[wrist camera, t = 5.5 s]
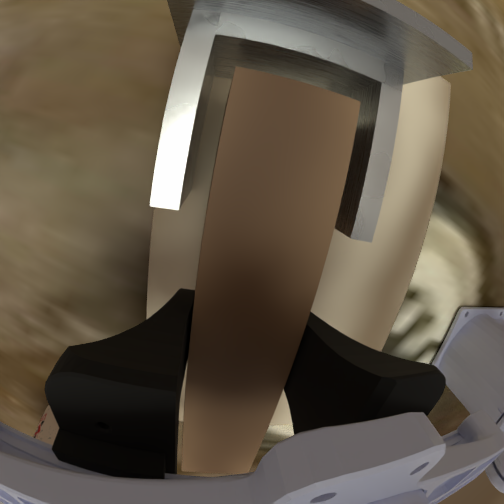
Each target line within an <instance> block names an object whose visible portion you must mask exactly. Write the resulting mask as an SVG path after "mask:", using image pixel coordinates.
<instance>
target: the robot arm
mask: <svg viewBox="0 0 504 504" xmlns="http://www.w3.org/2000/svg"><path fill="white" fill-rule="evenodd" d="M194 297H195V290H191V289H184V288H180V289H179V290H178V291H177V292H176V293H175V294H174V295H173V297H172V298H171V299H170V300H169V301H168V302H167V303H166V304H165V305H164V306H163V307H162V308H160V309H159V310H158V311H157V312H156V313H154V314H153V315H152V316H151V317H149V318H148V319H147V320H145V321H144V322H142V323H140V324H139V325H137V326H135V327H133V328H131V329H129V330H127V331H125V332H122V333H120V334H118V335H115V336H112V337H110V338H107V339H103V340H100V341H96V342H92V343H86V344H81V345H75V346H69V347H68V348H67V349H66V350H65V352H64V353H63V354H62V356H61V357H60V358H59V360H58V362H57V363H56V365H55V367H54V368H53V370H52V372H51V374H50V375H49V377H48V379H47V381H46V384H45V394H46V398H47V401H48V403H49V406H50V408H51V410H52V413H53V415H54V417H55V419H56V422H57V424H58V426H59V430H58V433H57V435H56V438H55V440H54V443H53V445H51V444H48V443H46V442H43V441H41V440H38V439H36V438H33V437H31V436H29V435H27V434H24V433H22V432H20V431H18V430H16V429H14V428H12V427H10V426H8V425H6V424H4V423H2V422H0V502H2V503H4V504H437V503H439V502H440V501H442V500H443V499H445V498H447V497H448V496H450V495H451V494H453V493H455V492H456V491H458V490H459V489H460V488H462V487H463V486H465V485H466V484H468V483H469V482H471V481H472V480H474V479H475V478H476V477H477V476H478V475H479V474H480V473H482V472H483V471H484V470H485V471H486V474H487V476H488V478H489V480H490V481H491V483H492V484H493V486H494V487H496V489H498V490H499V491H500V492H502V493H504V308H492V307H461V308H460V309H459V311H458V312H457V315H456V317H455V319H454V321H453V323H452V326H451V328H450V330H449V332H448V334H447V336H446V338H445V340H444V342H443V344H442V346H441V348H440V350H439V351H438V353H437V355H436V357H435V359H434V361H433V362H432V364H425V363H420V362H414V361H409V360H405V359H402V358H398V357H395V356H391V355H388V354H385V353H383V352H380V351H378V350H375V349H372V348H370V347H368V346H366V345H363V344H362V343H360V342H358V341H356V340H354V339H352V338H350V337H348V336H346V335H345V334H343V333H341V332H340V331H338V330H337V329H335V328H333V327H332V326H330V325H329V324H328V323H326V322H325V321H323V320H322V319H320V318H319V317H318V316H316V315H315V314H313V313H312V312H310V315H309V318H308V321H307V324H306V327H305V330H304V333H303V336H302V339H301V342H300V345H299V348H298V351H297V354H296V356H295V359H294V362H293V365H292V368H291V370H290V373H289V376H288V378H287V381H286V384H285V386H284V392H285V395H286V398H287V401H288V405H289V409H290V414H291V419H292V424H293V430H294V435H293V436H291V437H289V438H287V439H285V440H283V441H281V442H278V443H277V444H276V445H275V446H274V447H273V448H272V449H271V450H270V451H269V452H268V453H267V454H266V455H265V456H264V457H263V458H262V459H261V461H260V463H259V465H258V467H257V469H256V471H255V472H250V473H243V474H236V475H228V476H219V477H200V476H187V475H177V445H178V424H179V408H180V397H181V391H182V386H183V381H184V375H185V370H186V365H187V360H188V353H189V343H190V333H191V323H192V314H193V305H194ZM445 385H447V386H448V388H449V389H450V390H451V391H452V392H453V393H454V395H455V396H456V397H457V398H458V399H459V400H460V402H461V403H462V404H463V405H464V406H465V407H466V409H467V410H468V411H469V412H470V413H471V415H469V416H468V417H467V418H466V419H465V420H464V421H463V422H462V423H461V424H460V426H459V427H458V429H457V430H455V431H453V432H451V433H449V434H447V435H444V436H442V437H441V436H440V435H439V433H438V432H437V430H436V429H435V428H434V426H433V425H432V423H431V422H430V421H429V419H428V418H427V415H428V414H429V413H430V411H431V410H432V409H433V407H434V406H435V404H436V403H437V402H438V400H439V398H440V397H441V395H442V393H443V391H444V388H445Z"/></svg>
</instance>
